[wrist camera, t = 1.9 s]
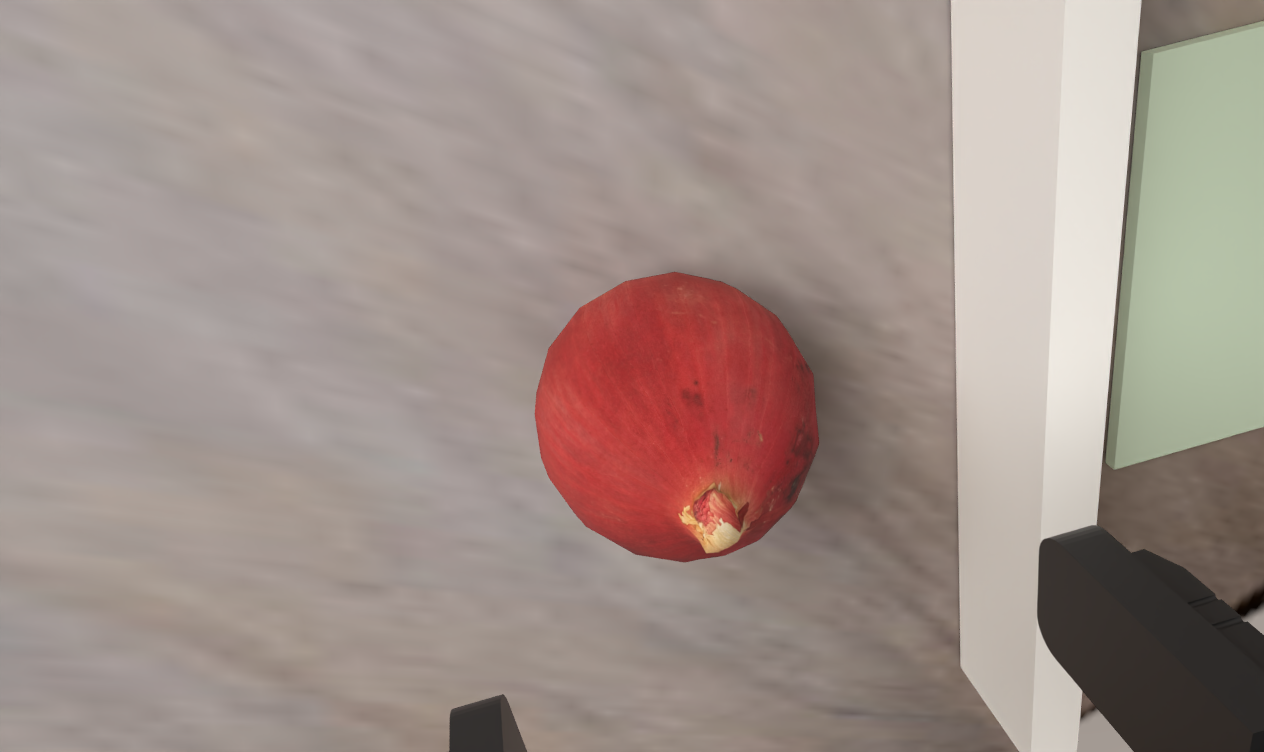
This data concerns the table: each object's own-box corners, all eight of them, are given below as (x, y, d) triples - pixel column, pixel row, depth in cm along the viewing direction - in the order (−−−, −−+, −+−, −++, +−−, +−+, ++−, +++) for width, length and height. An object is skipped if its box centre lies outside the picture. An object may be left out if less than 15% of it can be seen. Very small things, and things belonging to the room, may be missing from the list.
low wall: (946, -268, 17) (1079, -322, 13) (1019, -285, 17) (1170, -341, 13) (960, 667, 29) (1030, 767, 26) (1001, 654, 29) (1077, 752, 26)
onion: (787, 257, 21) (955, 420, 14) (712, 456, 23) (825, 681, 16) (556, 203, 19) (616, 357, 12) (499, 422, 22) (523, 657, 15)
